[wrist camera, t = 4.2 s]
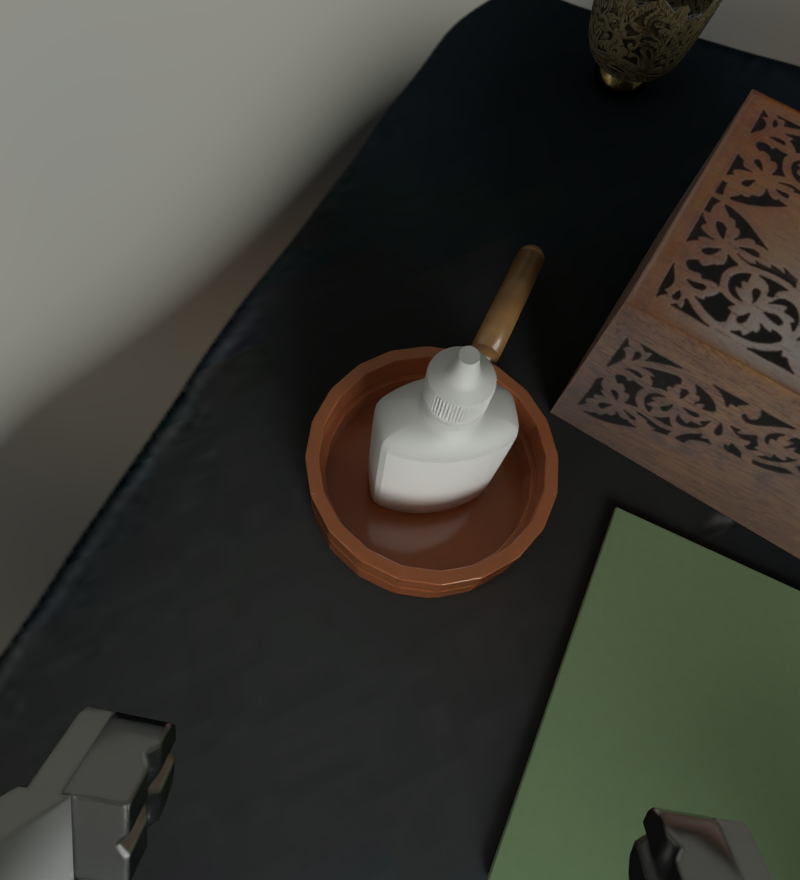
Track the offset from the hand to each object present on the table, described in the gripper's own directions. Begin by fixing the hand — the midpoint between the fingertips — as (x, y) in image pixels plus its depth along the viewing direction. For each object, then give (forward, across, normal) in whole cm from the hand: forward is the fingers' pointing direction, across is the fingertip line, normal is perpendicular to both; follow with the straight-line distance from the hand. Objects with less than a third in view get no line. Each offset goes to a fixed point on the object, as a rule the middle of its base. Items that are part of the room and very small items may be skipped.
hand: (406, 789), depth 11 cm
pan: (+21, 0, +4) cm, 21 cm away
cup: (+43, -9, -17) cm, 47 cm away
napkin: (+14, -17, +12) cm, 25 cm away
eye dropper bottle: (+21, 0, +4) cm, 21 cm away
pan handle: (+26, -3, -4) cm, 26 cm away
